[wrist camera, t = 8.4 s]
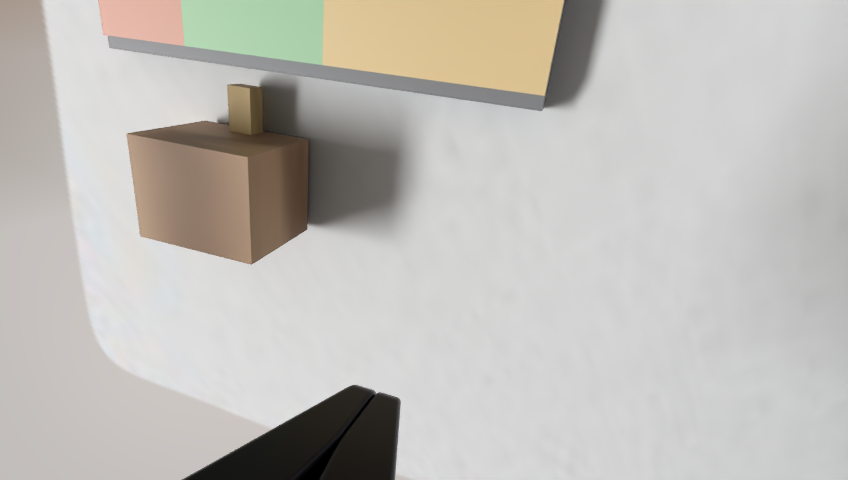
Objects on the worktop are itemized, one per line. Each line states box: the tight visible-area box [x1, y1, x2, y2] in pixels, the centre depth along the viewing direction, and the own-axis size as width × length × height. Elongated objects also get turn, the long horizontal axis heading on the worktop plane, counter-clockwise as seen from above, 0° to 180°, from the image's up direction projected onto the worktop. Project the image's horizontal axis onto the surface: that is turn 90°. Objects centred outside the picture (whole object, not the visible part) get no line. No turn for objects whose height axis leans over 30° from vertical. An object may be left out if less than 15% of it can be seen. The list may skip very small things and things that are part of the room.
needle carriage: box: [127, 84, 309, 265], centre depth 18 cm, size 5×6×4 cm
